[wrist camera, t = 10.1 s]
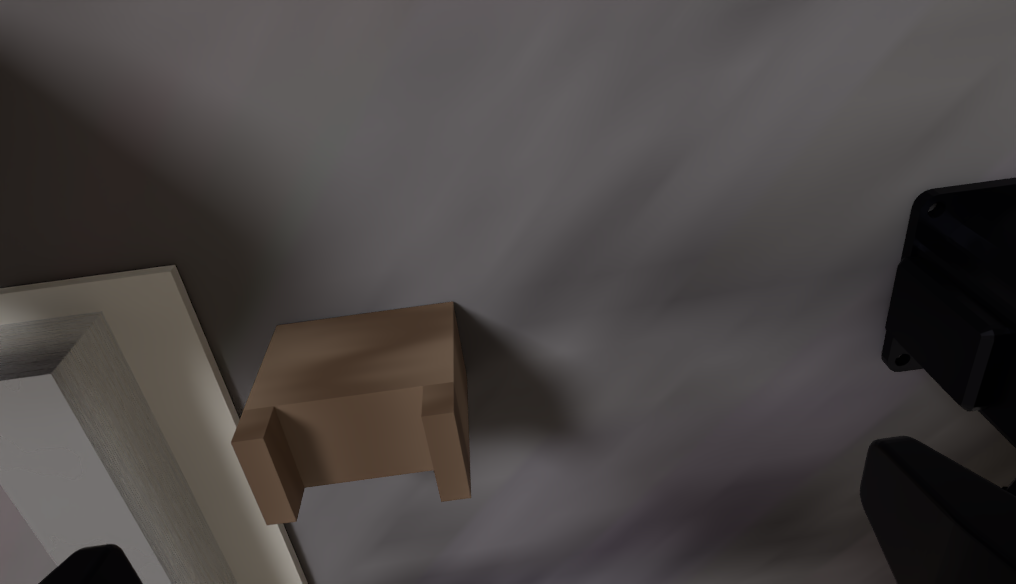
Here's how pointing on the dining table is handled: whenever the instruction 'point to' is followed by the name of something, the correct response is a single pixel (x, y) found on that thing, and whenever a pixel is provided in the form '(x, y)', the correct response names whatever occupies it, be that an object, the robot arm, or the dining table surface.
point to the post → (356, 406)
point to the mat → (175, 401)
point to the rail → (95, 454)
